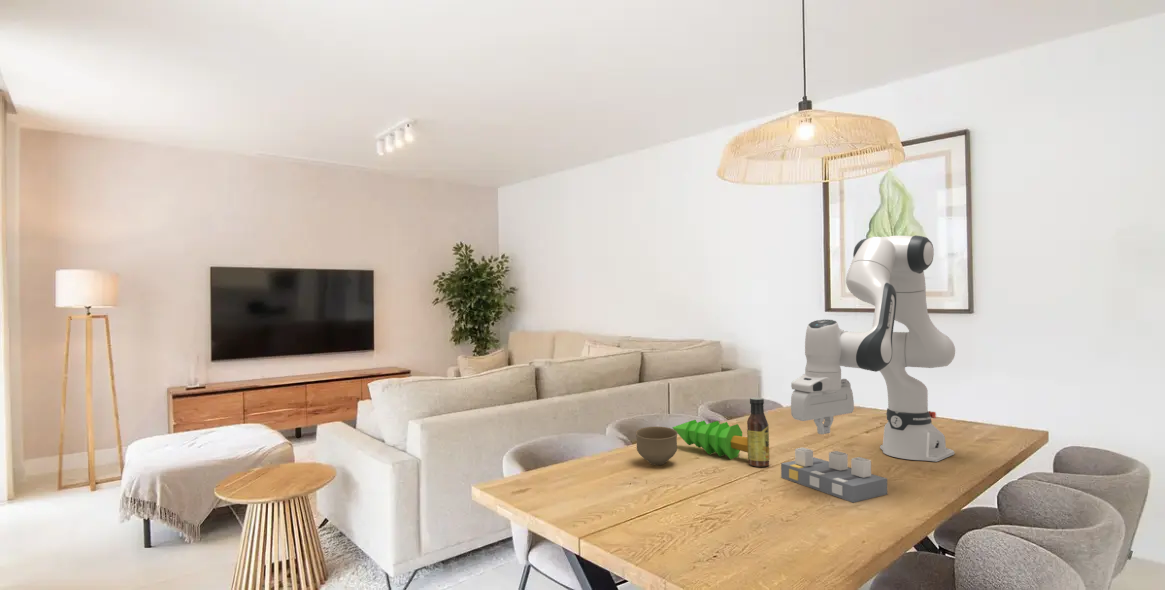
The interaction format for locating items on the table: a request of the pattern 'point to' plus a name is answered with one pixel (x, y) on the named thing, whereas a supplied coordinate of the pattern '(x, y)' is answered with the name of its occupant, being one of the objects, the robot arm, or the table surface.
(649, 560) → the table surface
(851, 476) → the console
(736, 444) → the decorative tree
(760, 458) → the sauce bottle
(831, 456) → the knob
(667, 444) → the bowl
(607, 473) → the table surface
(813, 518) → the table surface
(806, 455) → the knob
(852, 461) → the knob
